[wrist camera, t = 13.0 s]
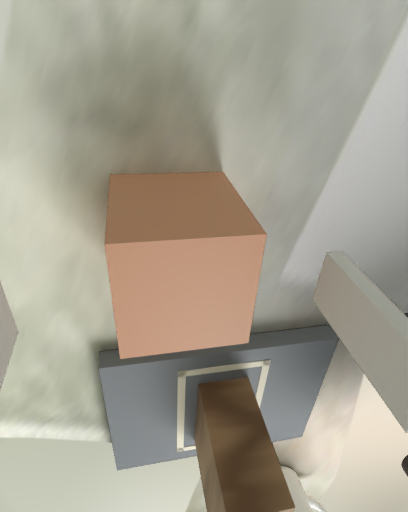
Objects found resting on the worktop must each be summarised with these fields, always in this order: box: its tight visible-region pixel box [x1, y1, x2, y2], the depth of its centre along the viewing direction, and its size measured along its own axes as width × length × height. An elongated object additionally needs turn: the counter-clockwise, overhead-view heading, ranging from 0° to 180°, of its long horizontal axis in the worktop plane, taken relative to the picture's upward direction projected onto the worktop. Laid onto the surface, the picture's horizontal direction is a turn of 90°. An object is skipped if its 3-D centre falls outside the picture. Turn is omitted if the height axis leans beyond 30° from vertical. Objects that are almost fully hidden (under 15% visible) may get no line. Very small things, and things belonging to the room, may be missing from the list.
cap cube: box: [105, 172, 267, 359], centre depth 17 cm, size 6×6×7 cm
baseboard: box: [99, 325, 339, 470], centre depth 29 cm, size 18×14×2 cm
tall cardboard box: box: [195, 377, 295, 512], centre depth 25 cm, size 4×8×9 cm, turn 177°
